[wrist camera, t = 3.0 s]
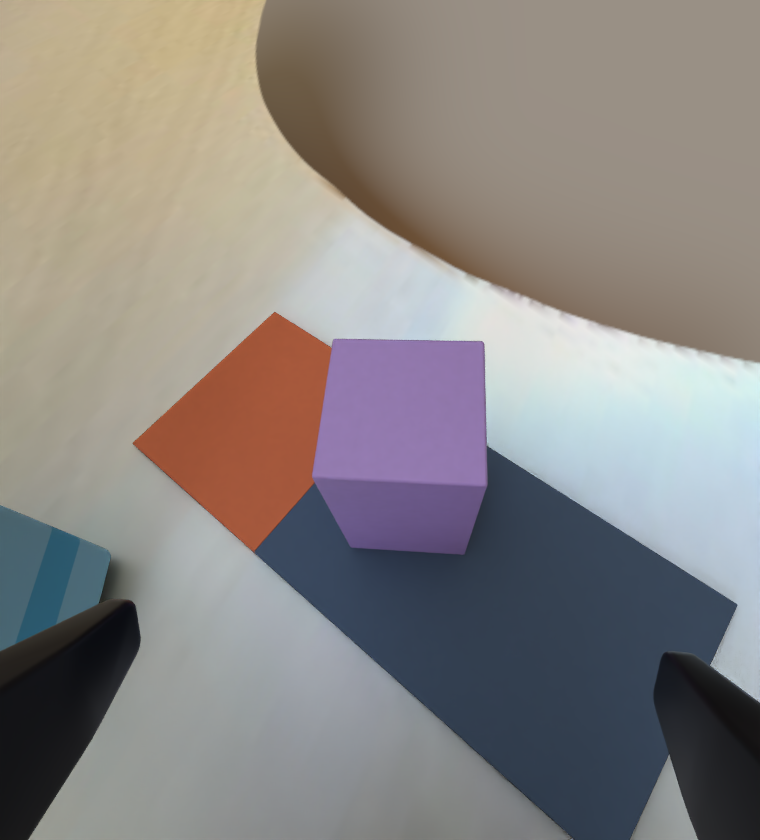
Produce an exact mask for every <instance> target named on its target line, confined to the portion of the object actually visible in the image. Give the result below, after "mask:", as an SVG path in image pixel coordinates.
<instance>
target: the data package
mask: <svg viewBox="0 0 760 840" xmlns="http://www.w3.org/2000/svg"><path fill="white" fill-rule="evenodd" d="M110 559H111V555H110V552H109V551H108V550H106V549H105V548H103V547H100V546H98V545H95V544H93V543H91V542H88V541H86V540H83V539H81V538H78V537H76V536H74V535H71V534H69V533H66V532H64V531H62V530H59V529H57V528H54V527H52V526H49V525H47V524H45V523H42V522H40V521H37V520H35V519H32V518H30V517H28V516H25V515H23V514H20V513H18V512H16V511H13V510H11V509H8V508H6V507H3V506H1V505H0V651H2V650H4V649H6V648H8V647H10V646H12V645H14V644H16V643H18V642H20V641H22V640H24V639H27V638H29V637H31V636H33V635H35V634H37V633H39V632H41V631H43V630H45V629H47V628H49V627H52V626H54V625H56V624H58V623H60V622H62V621H64V620H66V619H68V618H70V617H72V616H74V615H77V614H79V613H81V612H83V611H85V610H87V609H89V608H91V607H93V606H95V605H97V604H99V601H100V597H101V593H102V589H103V586H104V582H105V578H106V574H107V570H108V566H109V562H110Z"/></svg>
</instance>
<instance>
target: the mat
mask: <svg viewBox="0 0 760 840" xmlns="http://www.w3.org/2000/svg"><path fill="white" fill-rule="evenodd" d="M331 350H332V348H331V347H330V346H328V345H326V344H325V343H323V342H322V341H320V340H318V339H317V338H315V337H314V336H312V335H311V334H309V333H307V332H306V331H304V330H303V329H301V328H299V327H298V326H296V325H295V324H293V323H292V322H290V321H288V320H287V319H285V318H284V317H282V316H281V315H279V314H277V313H276V312H274V313H273V314H272V315H271V316H270V317H269V318H267V319H266V320H265V321H264V322H263V323H262V324H261V325H260V326H259V327H258V328H257V329H256V330H254V331H253V332H252V333H251V334H250V335H249V336H248V337H247V338H246V339H245V340H244V341H243V342H241V343H240V344H239V345H238V346H237V347H236V348H235V349H234V350H233V351H232V352H231V353H230V354H228V355H227V356H226V357H225V358H224V359H223V360H222V361H221V362H220V363H219V364H218V365H217V366H216V367H214V368H213V369H212V370H211V371H210V372H209V373H208V374H207V375H206V376H205V377H204V378H203V379H201V380H200V381H199V382H198V383H197V384H196V385H195V386H194V387H193V388H192V389H191V390H190V391H188V392H187V393H186V394H185V395H184V396H183V397H182V398H181V399H180V400H179V401H178V402H177V403H176V404H174V405H173V406H172V407H171V408H170V409H169V410H168V411H167V412H166V413H165V414H164V415H163V416H161V417H160V418H159V419H158V420H157V421H156V422H155V423H154V424H153V425H152V426H151V427H150V428H148V429H147V430H146V431H145V432H144V433H143V434H142V435H141V436H140V437H139V438H138V439H137V440H135V441H134V442H133V444H134V445H135V446H136V447H137V448H138V449H139V450H140V451H141V452H143V453H144V454H145V455H146V456H147V457H148V458H149V459H150V460H151V461H153V462H154V463H155V464H156V465H157V466H158V467H159V468H160V469H161V470H163V471H164V472H165V473H166V474H167V475H168V476H169V477H170V478H172V479H173V480H174V481H175V482H176V483H177V484H178V485H179V486H180V487H182V488H183V489H184V490H185V491H186V492H187V493H188V494H189V495H191V496H192V497H193V498H194V499H195V500H196V501H197V502H198V503H199V504H201V505H202V506H203V507H204V508H205V509H206V510H207V511H208V512H210V513H211V514H212V515H213V516H214V517H215V518H216V519H217V520H218V521H220V522H221V523H222V524H223V525H224V526H225V527H226V528H227V529H228V530H230V531H231V532H232V533H233V534H234V535H235V536H236V537H237V538H239V539H240V540H241V541H242V542H243V543H244V544H245V545H246V546H247V547H249V548H250V549H251V550H252V551H253V552H254V553H255V554H256V555H258V556H259V557H260V558H261V559H262V560H263V561H264V562H265V563H266V564H268V565H269V566H270V567H271V568H272V569H273V570H274V571H275V572H277V573H278V574H279V575H280V576H281V577H282V578H283V579H284V580H285V581H287V582H288V583H289V584H290V585H291V586H292V587H293V588H294V589H295V590H297V591H298V592H299V593H300V594H301V595H302V596H303V597H304V598H306V599H307V600H308V601H309V602H310V603H311V604H312V605H313V606H314V607H316V608H317V609H318V610H319V611H320V612H321V613H322V614H323V615H325V616H326V617H327V618H328V619H329V620H330V621H331V622H332V623H333V624H335V625H336V626H337V627H338V628H339V629H340V630H341V631H342V632H343V633H345V634H346V635H347V636H348V637H349V638H350V639H351V640H352V641H354V642H355V643H356V644H357V645H358V646H359V647H360V648H361V649H362V650H364V651H365V652H366V653H367V654H368V655H369V656H370V657H371V658H373V659H374V660H375V661H376V662H377V663H378V664H379V665H380V666H381V667H383V668H384V669H385V670H386V671H387V672H388V673H389V674H390V675H392V676H393V677H394V678H395V679H396V680H397V681H398V682H399V683H400V684H402V685H403V686H404V687H405V688H406V689H407V690H408V691H409V692H410V693H412V694H413V695H414V696H415V697H416V698H417V699H418V700H419V701H421V702H422V703H423V704H424V705H425V706H426V707H427V708H428V709H429V710H431V711H432V712H433V713H434V714H435V715H436V716H437V717H438V718H440V719H441V720H442V721H443V722H444V723H445V724H446V725H447V726H448V727H450V728H451V729H452V730H453V731H454V732H455V733H456V734H457V735H459V736H460V737H461V738H462V739H463V740H464V741H465V742H466V743H467V744H469V745H470V746H471V747H472V748H473V749H474V750H475V751H476V752H477V753H479V754H480V755H481V756H482V757H483V758H484V759H485V760H486V761H488V762H489V763H490V764H491V765H492V766H493V767H494V768H495V769H496V770H498V771H499V772H500V773H501V774H502V775H503V776H504V777H505V778H507V779H508V780H509V781H510V782H511V783H512V784H513V785H514V786H515V787H517V788H518V789H519V790H520V791H521V792H522V793H523V794H524V795H526V796H527V797H528V798H529V799H530V800H531V801H532V802H533V803H534V804H536V805H537V806H538V807H539V808H540V809H541V810H542V811H543V812H544V813H546V814H547V815H548V816H549V817H550V818H551V819H552V820H553V821H555V822H556V823H557V824H558V825H559V826H560V827H561V828H562V829H563V830H565V831H566V832H567V833H568V834H569V835H570V836H571V837H572V838H574V839H575V840H630V838H631V836H632V834H633V831H634V829H635V827H636V825H637V823H638V821H639V818H640V816H641V814H642V812H643V810H644V807H645V805H646V803H647V801H648V799H649V797H650V794H651V792H652V790H653V788H654V786H655V784H656V781H657V779H658V777H659V775H660V773H661V771H662V768H663V766H664V764H665V762H666V760H667V757H668V755H669V751H668V748H667V745H666V742H665V738H664V735H663V732H662V729H661V725H660V722H659V719H658V716H657V713H656V709H655V705H654V698H653V692H654V687H655V682H656V678H657V673H658V669H659V664H660V660H661V657H662V655H663V653H665V652H667V651H675V652H686V653H692V654H694V655H696V656H697V657H699V658H700V659H701V660H703V661H704V662H705V663H707V664H708V665H709V666H710V664H711V662H712V660H713V657H714V655H715V653H716V651H717V649H718V647H719V644H720V642H721V640H722V638H723V636H724V633H725V631H726V629H727V627H728V625H729V623H730V620H731V618H732V616H733V614H734V612H735V610H736V607H737V604H736V603H734V602H733V601H731V600H729V599H728V598H726V597H725V596H723V595H722V594H720V593H718V592H717V591H715V590H714V589H712V588H710V587H709V586H707V585H706V584H704V583H703V582H701V581H699V580H698V579H696V578H695V577H693V576H692V575H690V574H688V573H687V572H685V571H684V570H682V569H680V568H679V567H677V566H676V565H674V564H673V563H671V562H669V561H668V560H666V559H665V558H663V557H661V556H660V555H658V554H657V553H655V552H654V551H652V550H650V549H649V548H647V547H646V546H644V545H642V544H641V543H639V542H638V541H636V540H635V539H633V538H631V537H630V536H628V535H627V534H625V533H624V532H622V531H620V530H619V529H617V528H616V527H614V526H612V525H611V524H609V523H608V522H606V521H605V520H603V519H601V518H600V517H598V516H597V515H595V514H593V513H592V512H590V511H589V510H587V509H586V508H584V507H582V506H581V505H579V504H578V503H576V502H575V501H573V500H571V499H570V498H568V497H567V496H565V495H563V494H562V493H560V492H559V491H557V490H556V489H554V488H552V487H551V486H549V485H548V484H546V483H544V482H543V481H541V480H540V479H538V478H537V477H535V476H533V475H532V474H530V473H529V472H527V471H526V470H524V469H522V468H521V467H519V466H518V465H516V464H514V463H513V462H511V461H510V460H508V459H507V458H505V457H503V456H502V455H500V454H499V453H497V452H495V451H494V450H492V449H491V448H489V447H488V446H487V481H488V485H487V488H486V491H485V494H484V497H483V500H482V503H481V506H480V509H479V512H478V515H477V518H476V521H475V524H474V527H473V530H472V533H471V536H470V539H469V542H468V545H467V548H466V551H465V554H463V555H460V554H444V553H428V552H412V551H397V550H381V549H365V548H352V547H350V545H349V543H348V542H347V540H346V538H345V536H344V534H343V533H342V531H341V529H340V527H339V525H338V524H337V522H336V520H335V518H334V516H333V514H332V513H331V511H330V509H329V507H328V505H327V504H326V502H325V500H324V498H323V496H322V495H321V493H320V491H319V489H318V487H317V485H316V484H315V482H314V480H313V478H312V472H313V466H314V459H315V453H316V446H317V440H318V434H319V427H320V421H321V414H322V408H323V401H324V395H325V388H326V382H327V376H328V369H329V363H330V356H331Z"/></svg>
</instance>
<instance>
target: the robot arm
mask: <svg viewBox="0 0 760 840" xmlns="http://www.w3.org/2000/svg"><path fill="white" fill-rule="evenodd" d="M140 641H141V636H140V630H139V624H138V618H137V611H136V606H135V604H134V603H133V602H132V601H130V600H122V599H108V600H106V601H104V602H102V603H99V604H97V605H95V606H93V607H91V608H89V609H87V610H85V611H83V612H81V613H79V614H77V615H74V616H72V617H70V618H68V619H66V620H64V621H62V622H60V623H58V624H56V625H54V626H52V627H49V628H47V629H45V630H43V631H41V632H39V633H37V634H35V635H33V636H31V637H29V638H27V639H24V640H22V641H20V642H18V643H16V644H14V645H12V646H10V647H8V648H6V649H4V650H2V651H0V840H28V839H29V837H30V836H31V834H32V833H33V831H34V830H35V828H36V826H37V825H38V823H39V822H40V820H41V819H42V817H43V815H44V814H45V812H46V811H47V809H48V808H49V806H50V805H51V803H52V801H53V800H54V798H55V797H56V795H57V794H58V792H59V790H60V789H61V787H62V786H63V784H64V783H65V781H66V779H67V778H68V776H69V775H70V773H71V772H72V770H73V768H74V767H75V765H76V764H77V762H78V761H79V759H80V758H81V756H82V754H83V753H84V751H85V749H86V748H87V746H88V745H89V743H90V741H91V740H92V738H93V736H94V734H95V733H96V731H97V729H98V727H99V725H100V724H101V722H102V720H103V718H104V716H105V714H106V712H107V710H108V708H109V706H110V704H111V703H112V701H113V699H114V697H115V695H116V693H117V691H118V689H119V687H120V685H121V683H122V681H123V680H124V678H125V676H126V674H127V672H128V670H129V668H130V666H131V664H132V662H133V660H134V659H135V657H136V655H137V653H138V650H139V647H140ZM653 698H654V705H655V709H656V713H657V716H658V719H659V722H660V725H661V729H662V732H663V735H664V738H665V742H666V745H667V748H668V751H669V755H670V758H671V761H672V764H673V767H674V771H675V774H676V777H677V780H678V784H679V787H680V790H681V793H682V797H683V800H684V803H685V805H686V808H687V811H688V814H689V817H690V820H691V822H692V825H693V827H694V830H695V833H696V835H697V838H698V840H760V703H759V702H758V701H757V700H755V699H754V698H753V697H751V696H750V695H749V694H747V693H746V692H745V691H743V690H742V689H741V688H739V687H738V686H736V685H735V684H734V683H732V682H731V681H730V680H728V679H727V678H726V677H724V676H723V675H722V674H720V673H719V672H718V671H716V670H715V669H714V668H712V667H711V666H709V665H708V664H707V663H705V662H704V661H703V660H701V659H700V658H699V657H697V656H696V655H694V654H692V653H686V652H675V651H667V652H665V653H663V655H662V657H661V660H660V664H659V669H658V673H657V678H656V682H655V687H654V692H653Z"/></svg>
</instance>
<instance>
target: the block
mask: <svg viewBox="0 0 760 840" xmlns="http://www.w3.org/2000/svg"><path fill="white" fill-rule="evenodd" d="M312 478H313V480H314V482H315V484H316V485H317V487H318V489H319V491H320V493H321V495H322V496H323V498H324V500H325V502H326V504H327V505H328V507H329V509H330V511H331V513H332V514H333V516H334V518H335V520H336V522H337V524H338V525H339V527H340V529H341V531H342V533H343V534H344V536H345V538H346V540H347V542H348V543H349V545H350V547H352V548H365V549H381V550H397V551H412V552H428V553H444V554H460V555H463V554H465V551H466V548H467V545H468V542H469V539H470V536H471V533H472V530H473V527H474V524H475V521H476V518H477V515H478V512H479V509H480V506H481V503H482V500H483V497H484V494H485V491H486V488H487V485H488V481H487V437H486V394H485V351H484V342H482V341H430V340H372V339H334V340H333V343H332V350H331V356H330V363H329V369H328V376H327V382H326V388H325V395H324V401H323V408H322V414H321V421H320V427H319V434H318V440H317V446H316V453H315V459H314V466H313V472H312Z"/></svg>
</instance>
